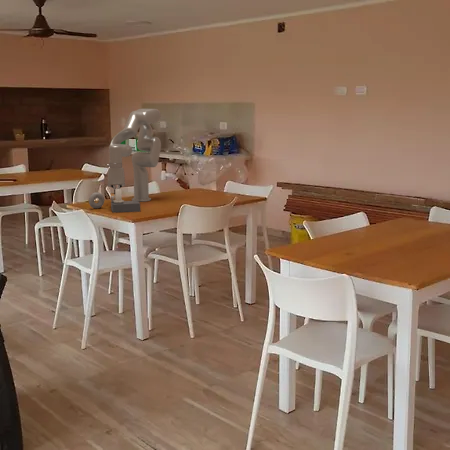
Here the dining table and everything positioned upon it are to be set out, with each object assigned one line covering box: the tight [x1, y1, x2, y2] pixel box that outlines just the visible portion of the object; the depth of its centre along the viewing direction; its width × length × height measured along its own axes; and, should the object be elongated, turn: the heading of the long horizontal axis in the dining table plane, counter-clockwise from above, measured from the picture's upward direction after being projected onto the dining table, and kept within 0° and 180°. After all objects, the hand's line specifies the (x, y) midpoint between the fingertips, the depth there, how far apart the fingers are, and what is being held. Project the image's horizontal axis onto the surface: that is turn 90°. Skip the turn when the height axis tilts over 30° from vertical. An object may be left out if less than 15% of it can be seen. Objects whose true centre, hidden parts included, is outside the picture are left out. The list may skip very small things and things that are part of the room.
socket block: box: [110, 199, 141, 214], centre depth 366 cm, size 11×16×6 cm
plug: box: [114, 188, 125, 204], centre depth 364 cm, size 6×6×13 cm
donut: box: [88, 191, 105, 209], centre depth 372 cm, size 10×4×10 cm, turn 128°
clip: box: [110, 192, 116, 201], centre depth 372 cm, size 2×15×2 cm, turn 10°
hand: (116, 195), depth 376 cm, fingers closed
